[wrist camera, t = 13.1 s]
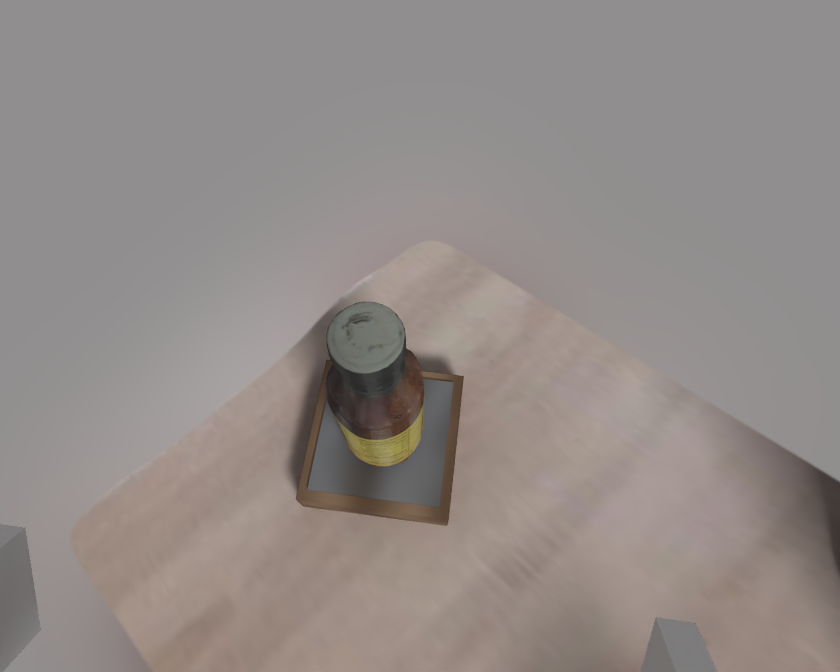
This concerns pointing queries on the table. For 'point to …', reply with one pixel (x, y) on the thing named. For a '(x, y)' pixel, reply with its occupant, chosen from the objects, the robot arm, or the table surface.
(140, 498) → the table surface
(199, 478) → the table surface
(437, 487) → the pedestal
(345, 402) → the sauce bottle
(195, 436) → the table surface
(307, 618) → the table surface
